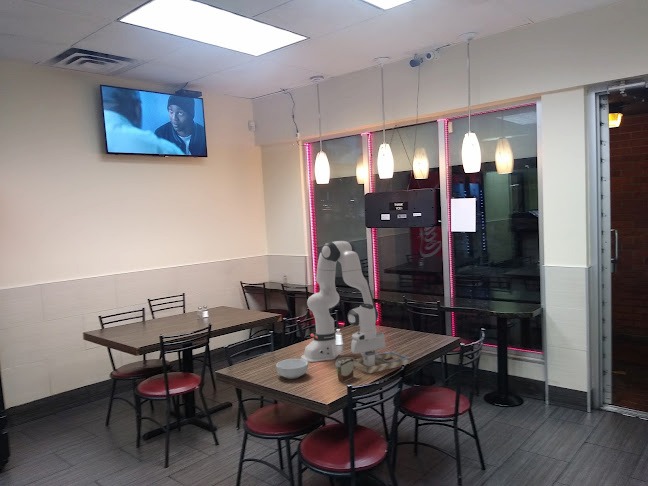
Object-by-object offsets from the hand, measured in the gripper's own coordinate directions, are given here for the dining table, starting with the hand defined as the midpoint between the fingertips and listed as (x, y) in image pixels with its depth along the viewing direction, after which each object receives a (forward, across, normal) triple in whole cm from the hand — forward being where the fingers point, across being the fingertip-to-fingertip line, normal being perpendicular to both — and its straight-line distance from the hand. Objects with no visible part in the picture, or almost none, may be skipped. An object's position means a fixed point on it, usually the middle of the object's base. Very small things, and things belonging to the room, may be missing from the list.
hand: (369, 358), depth 264 cm
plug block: (+3, 0, 0) cm, 3 cm away
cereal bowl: (+5, +41, -10) cm, 43 cm away
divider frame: (+4, -7, 0) cm, 8 cm away
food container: (+5, +21, +9) cm, 23 cm away
